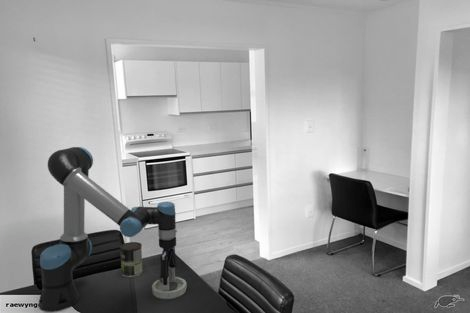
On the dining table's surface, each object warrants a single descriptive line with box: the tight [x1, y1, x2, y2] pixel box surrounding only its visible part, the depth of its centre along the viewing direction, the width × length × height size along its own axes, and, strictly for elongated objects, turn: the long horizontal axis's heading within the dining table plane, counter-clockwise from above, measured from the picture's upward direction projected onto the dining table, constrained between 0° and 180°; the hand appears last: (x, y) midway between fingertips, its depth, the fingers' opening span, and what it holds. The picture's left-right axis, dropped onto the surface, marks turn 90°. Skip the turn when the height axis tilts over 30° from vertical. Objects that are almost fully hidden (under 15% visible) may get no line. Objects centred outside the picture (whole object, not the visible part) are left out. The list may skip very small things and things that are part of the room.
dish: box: [151, 276, 188, 300], centre depth 165 cm, size 15×15×3 cm
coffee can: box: [119, 241, 144, 278], centre depth 183 cm, size 10×10×14 cm
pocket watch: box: [158, 269, 178, 290], centre depth 164 cm, size 8×8×10 cm
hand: (169, 286), depth 165 cm, fingers closed on pocket watch, 8 cm apart
